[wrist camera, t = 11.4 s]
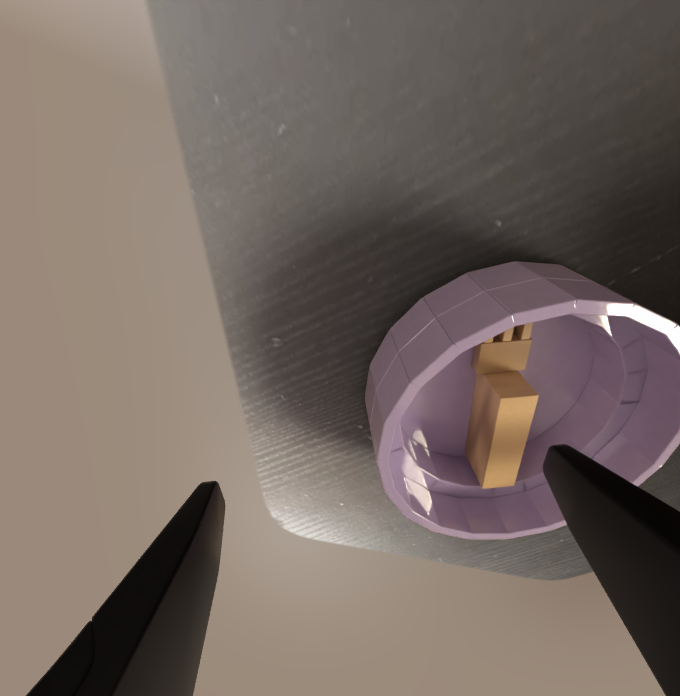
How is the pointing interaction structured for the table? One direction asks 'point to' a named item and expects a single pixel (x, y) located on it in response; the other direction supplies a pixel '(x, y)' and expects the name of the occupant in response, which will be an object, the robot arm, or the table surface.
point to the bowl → (544, 377)
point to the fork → (500, 407)
